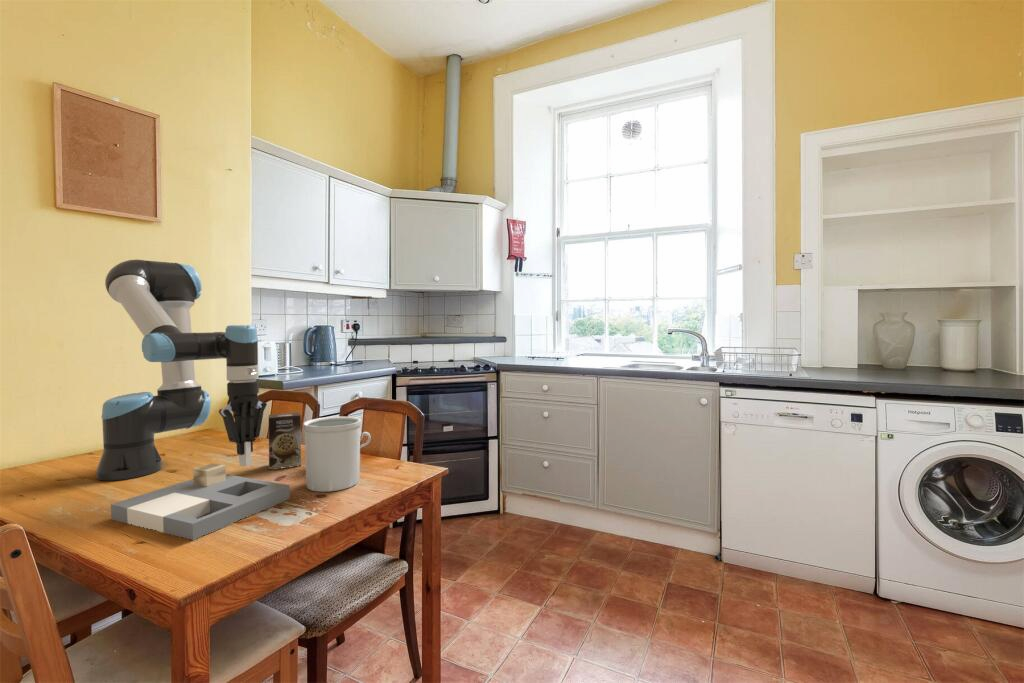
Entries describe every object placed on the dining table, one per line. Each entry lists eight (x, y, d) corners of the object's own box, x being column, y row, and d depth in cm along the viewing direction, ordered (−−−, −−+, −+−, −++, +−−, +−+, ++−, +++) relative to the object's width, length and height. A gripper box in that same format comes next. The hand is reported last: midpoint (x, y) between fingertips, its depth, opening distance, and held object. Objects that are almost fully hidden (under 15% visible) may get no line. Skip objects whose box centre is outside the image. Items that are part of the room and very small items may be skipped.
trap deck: (111, 519, 104) (110, 504, 103) (214, 484, 126) (214, 472, 126) (193, 540, 93) (192, 523, 93) (290, 498, 115) (289, 485, 115)
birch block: (193, 484, 116) (193, 468, 116) (212, 478, 121) (212, 463, 121) (206, 486, 114) (206, 471, 114) (225, 480, 119) (225, 465, 119)
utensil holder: (325, 473, 135) (324, 414, 135) (371, 476, 132) (370, 416, 132) (292, 490, 121) (290, 425, 120) (342, 494, 118) (341, 427, 117)
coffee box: (268, 470, 138) (267, 417, 137) (269, 464, 144) (267, 414, 143) (302, 466, 142) (300, 415, 142) (300, 460, 148) (299, 411, 147)
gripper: (230, 384, 118) (232, 473, 119) (273, 378, 130) (275, 460, 131) (210, 383, 121) (213, 470, 122) (254, 377, 133) (256, 457, 134)
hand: (245, 465), depth 127 cm, fingers closed
